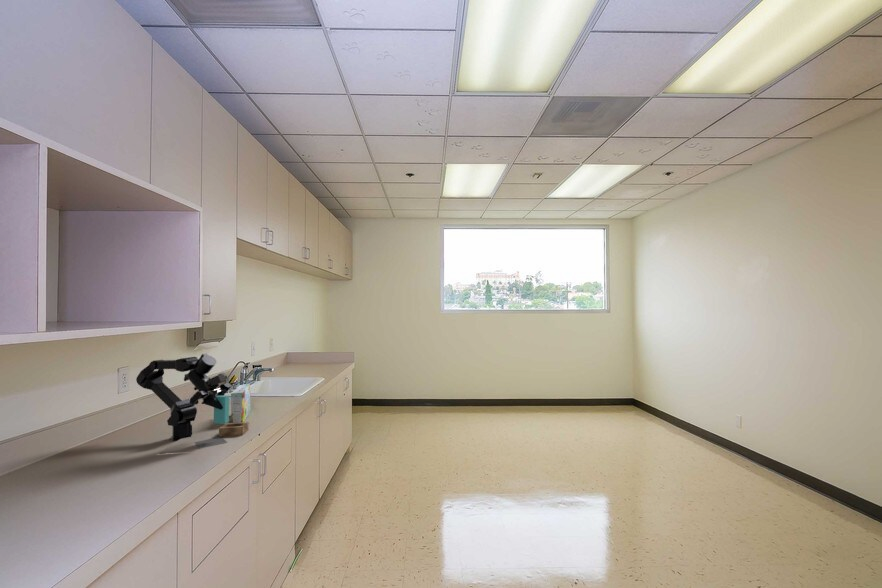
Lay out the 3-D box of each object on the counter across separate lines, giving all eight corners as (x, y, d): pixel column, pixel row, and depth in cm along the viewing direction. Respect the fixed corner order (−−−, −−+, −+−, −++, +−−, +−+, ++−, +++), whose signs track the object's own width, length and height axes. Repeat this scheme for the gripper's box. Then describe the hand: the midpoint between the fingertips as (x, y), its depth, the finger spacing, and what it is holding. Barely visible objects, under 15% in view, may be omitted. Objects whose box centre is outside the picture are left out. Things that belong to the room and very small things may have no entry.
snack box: (239, 413, 203) (239, 384, 204) (250, 412, 205) (251, 383, 206) (230, 424, 183) (230, 392, 184) (243, 423, 185) (243, 391, 185)
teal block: (213, 423, 160) (214, 396, 161) (217, 421, 163) (218, 395, 163) (224, 423, 160) (225, 397, 160) (228, 421, 162) (229, 395, 163)
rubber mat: (198, 450, 150) (198, 448, 150) (194, 443, 158) (194, 442, 158) (227, 443, 157) (227, 442, 157) (221, 437, 164) (221, 436, 164)
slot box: (218, 437, 164) (219, 428, 164) (225, 432, 171) (225, 423, 171) (242, 436, 166) (242, 426, 166) (248, 431, 173) (248, 422, 173)
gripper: (197, 371, 153) (222, 400, 152) (228, 364, 172) (250, 390, 170) (178, 390, 154) (203, 419, 152) (211, 381, 173) (234, 407, 171)
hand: (224, 408), depth 161 cm, fingers closed on teal block, 2 cm apart
